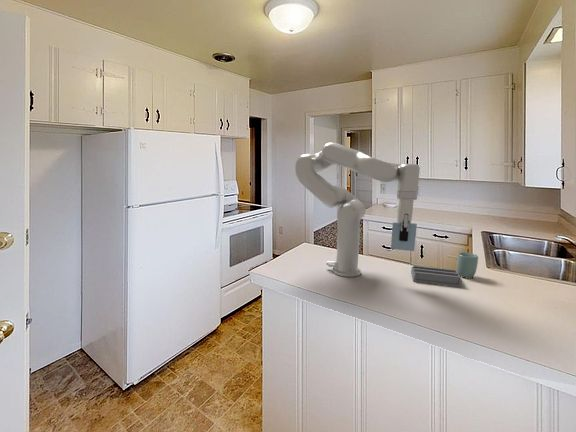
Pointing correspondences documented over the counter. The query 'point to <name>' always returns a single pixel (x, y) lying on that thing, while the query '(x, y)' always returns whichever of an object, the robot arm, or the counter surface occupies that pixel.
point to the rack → (436, 276)
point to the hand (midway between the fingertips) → (403, 239)
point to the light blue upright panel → (403, 245)
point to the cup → (467, 264)
